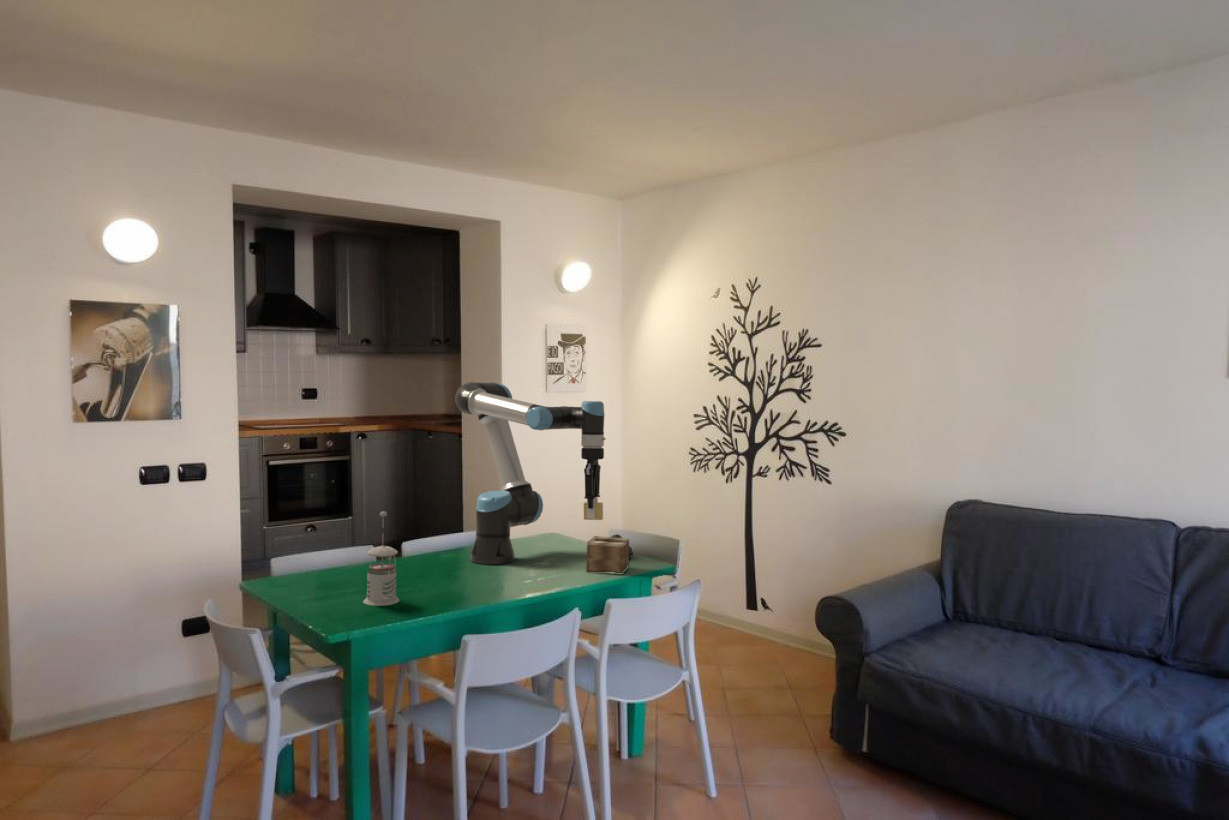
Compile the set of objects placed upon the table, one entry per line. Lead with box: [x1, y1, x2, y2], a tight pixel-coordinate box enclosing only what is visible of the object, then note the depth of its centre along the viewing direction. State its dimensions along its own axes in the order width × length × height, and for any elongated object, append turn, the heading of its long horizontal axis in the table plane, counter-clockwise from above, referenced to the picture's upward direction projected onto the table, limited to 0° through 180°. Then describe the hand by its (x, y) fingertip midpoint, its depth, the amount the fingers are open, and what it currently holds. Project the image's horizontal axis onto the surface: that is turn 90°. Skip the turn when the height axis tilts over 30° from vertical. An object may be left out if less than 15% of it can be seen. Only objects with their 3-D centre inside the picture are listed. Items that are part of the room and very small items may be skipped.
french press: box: [362, 511, 401, 607], centre depth 229 cm, size 10×12×25 cm
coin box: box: [585, 535, 630, 574], centre depth 275 cm, size 12×11×10 cm
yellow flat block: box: [583, 501, 604, 521], centre depth 275 cm, size 6×2×6 cm, turn 77°
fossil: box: [610, 533, 634, 559], centre depth 295 cm, size 11×9×10 cm
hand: (592, 517), depth 275 cm, fingers closed on yellow flat block, 2 cm apart
